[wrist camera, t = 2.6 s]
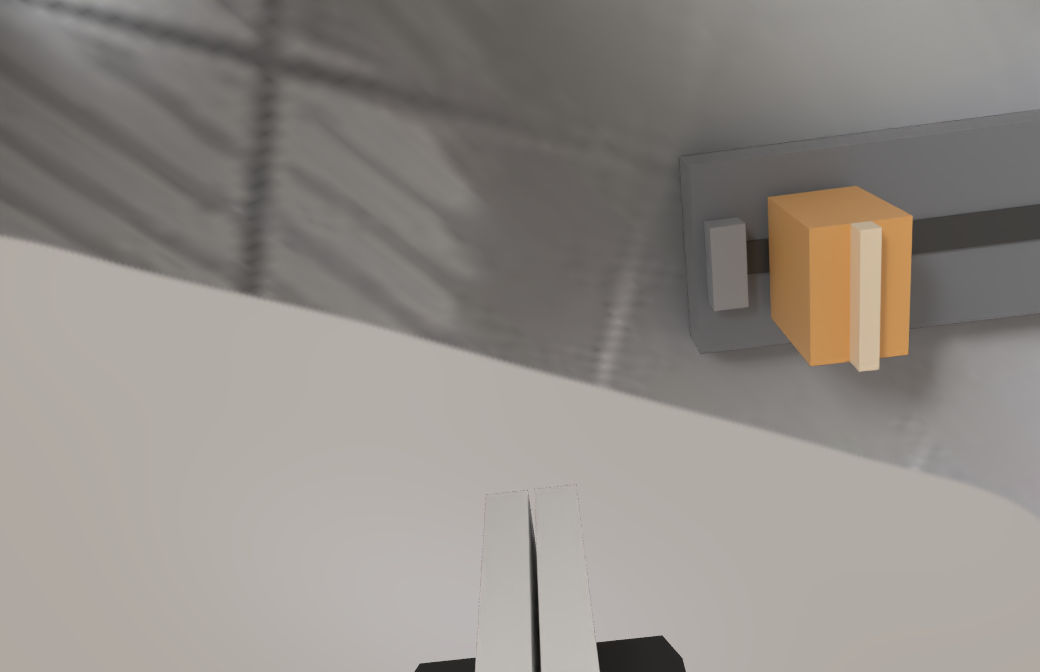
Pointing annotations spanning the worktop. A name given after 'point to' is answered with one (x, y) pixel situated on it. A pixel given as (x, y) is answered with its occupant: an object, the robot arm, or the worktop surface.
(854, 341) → the slider
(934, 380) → the worktop surface
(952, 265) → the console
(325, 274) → the worktop surface
